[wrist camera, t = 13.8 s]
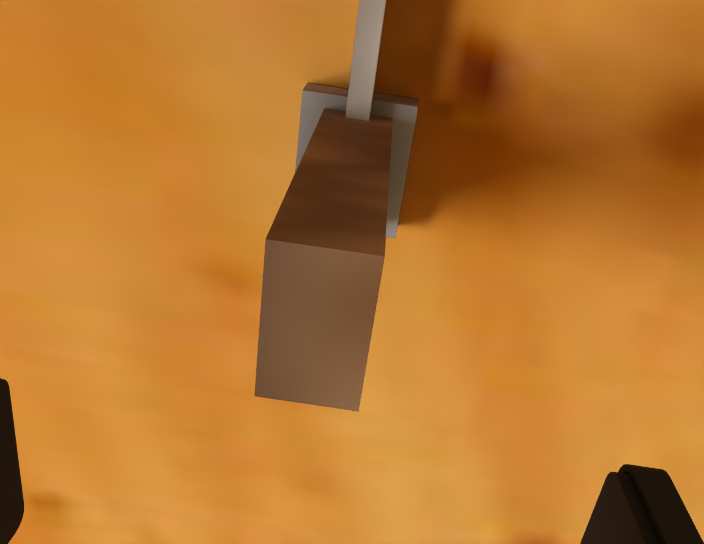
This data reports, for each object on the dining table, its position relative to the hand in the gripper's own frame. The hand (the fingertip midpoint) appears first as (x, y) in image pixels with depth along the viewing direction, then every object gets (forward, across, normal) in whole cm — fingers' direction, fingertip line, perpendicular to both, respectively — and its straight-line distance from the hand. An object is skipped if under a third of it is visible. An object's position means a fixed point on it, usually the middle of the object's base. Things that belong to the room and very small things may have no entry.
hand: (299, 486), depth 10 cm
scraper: (+16, 0, -8) cm, 18 cm away
